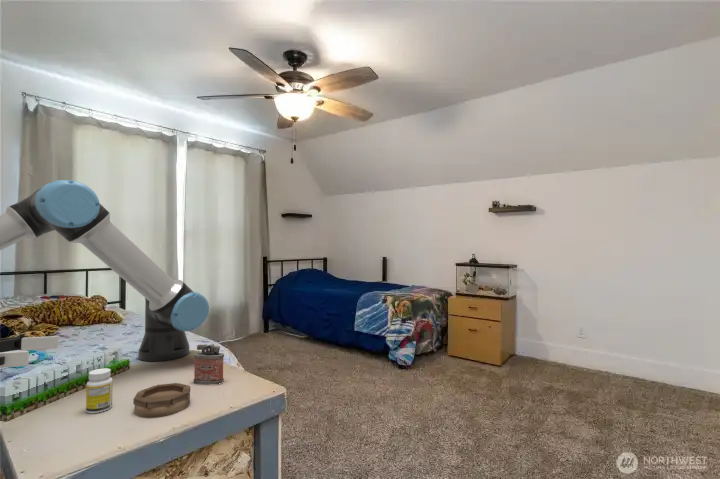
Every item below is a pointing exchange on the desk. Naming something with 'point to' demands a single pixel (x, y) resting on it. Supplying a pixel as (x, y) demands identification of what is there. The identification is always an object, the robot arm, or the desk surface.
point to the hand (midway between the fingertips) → (44, 349)
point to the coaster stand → (162, 400)
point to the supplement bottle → (99, 391)
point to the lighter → (208, 365)
